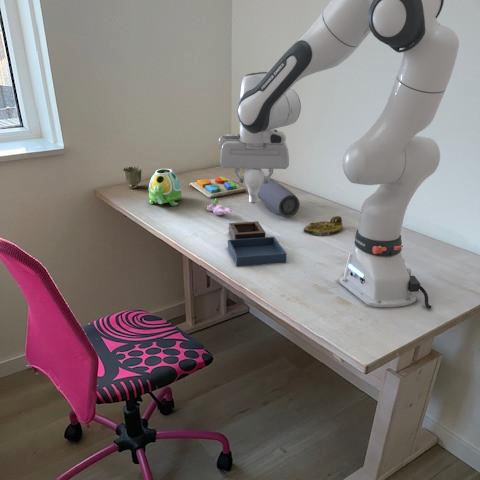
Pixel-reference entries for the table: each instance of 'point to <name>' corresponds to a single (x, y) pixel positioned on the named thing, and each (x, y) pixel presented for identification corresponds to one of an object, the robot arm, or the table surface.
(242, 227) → the stand
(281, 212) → the bluetooth speaker
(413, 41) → the robot arm
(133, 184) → the cup
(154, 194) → the turtle holder
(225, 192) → the puzzle board
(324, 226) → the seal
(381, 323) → the table surface
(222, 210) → the rabbit figure
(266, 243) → the tray
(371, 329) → the table surface
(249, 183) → the lightbulb
